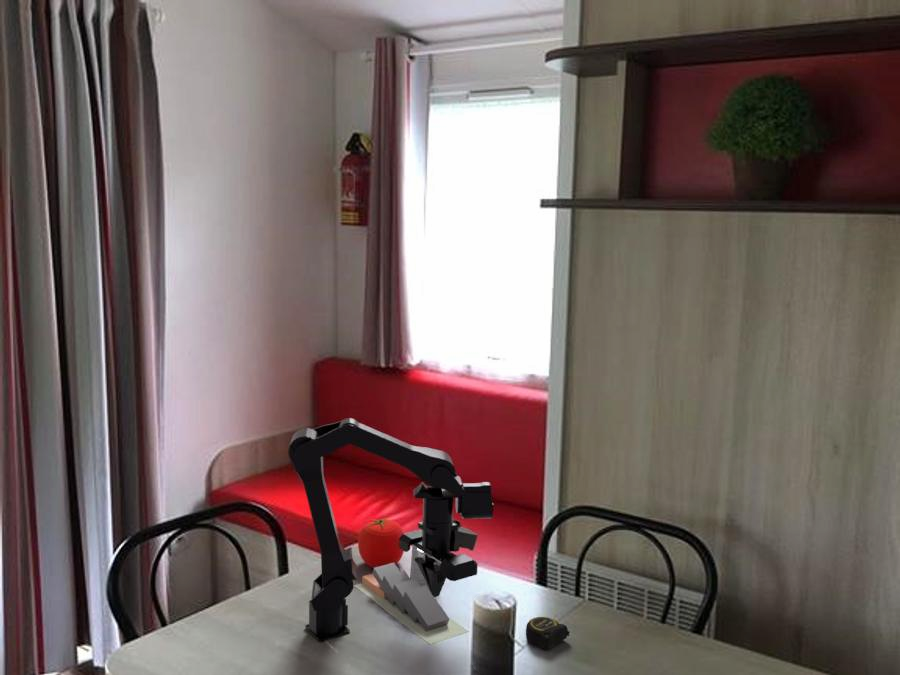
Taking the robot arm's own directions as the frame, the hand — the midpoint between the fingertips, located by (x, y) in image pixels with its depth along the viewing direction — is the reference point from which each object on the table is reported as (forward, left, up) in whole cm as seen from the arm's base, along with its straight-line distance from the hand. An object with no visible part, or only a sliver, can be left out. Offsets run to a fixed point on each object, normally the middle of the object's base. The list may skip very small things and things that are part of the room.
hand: (435, 595), depth 155 cm
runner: (0, +10, -6) cm, 12 cm away
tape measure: (+15, -16, -7) cm, 23 cm away
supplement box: (+8, +16, -7) cm, 19 cm away
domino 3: (0, +7, -6) cm, 9 cm away
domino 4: (0, +3, -6) cm, 6 cm away
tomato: (+6, +30, -7) cm, 31 cm away
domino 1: (0, +15, -6) cm, 16 cm away
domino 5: (0, -1, -6) cm, 6 cm away
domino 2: (0, +11, -6) cm, 13 cm away
